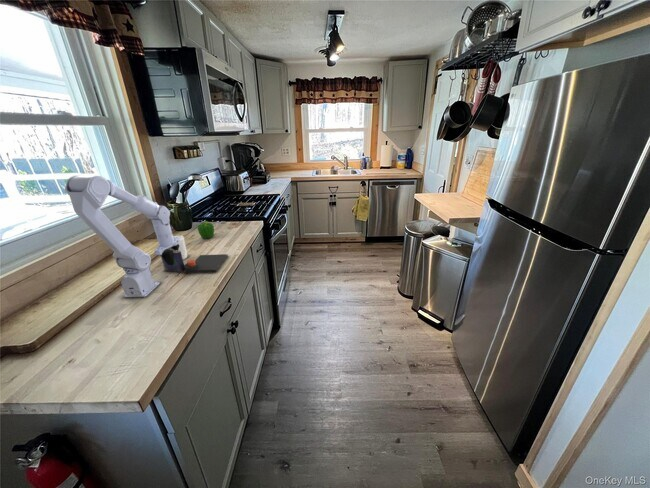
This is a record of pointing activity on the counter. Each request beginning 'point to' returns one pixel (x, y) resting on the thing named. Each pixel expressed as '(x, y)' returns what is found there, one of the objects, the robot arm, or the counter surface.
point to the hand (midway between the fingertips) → (172, 263)
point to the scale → (206, 264)
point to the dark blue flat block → (175, 262)
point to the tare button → (191, 262)
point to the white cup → (182, 246)
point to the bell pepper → (206, 230)
